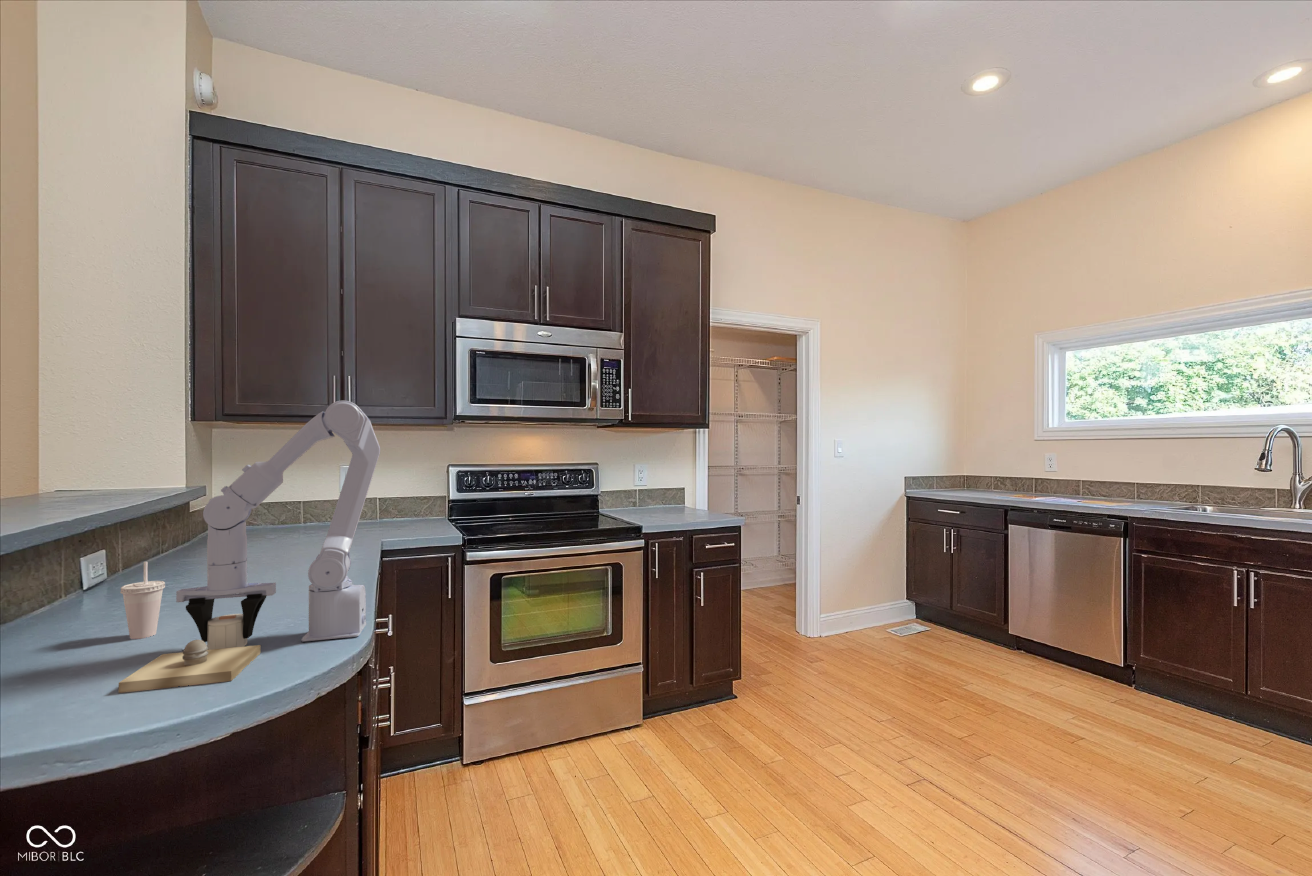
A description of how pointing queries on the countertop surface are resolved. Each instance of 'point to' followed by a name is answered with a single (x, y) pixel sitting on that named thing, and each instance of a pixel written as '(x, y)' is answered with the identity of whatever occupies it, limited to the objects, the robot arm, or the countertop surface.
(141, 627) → the smoothie
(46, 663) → the countertop surface
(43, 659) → the countertop surface
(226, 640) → the cream short cylinder
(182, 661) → the post board
